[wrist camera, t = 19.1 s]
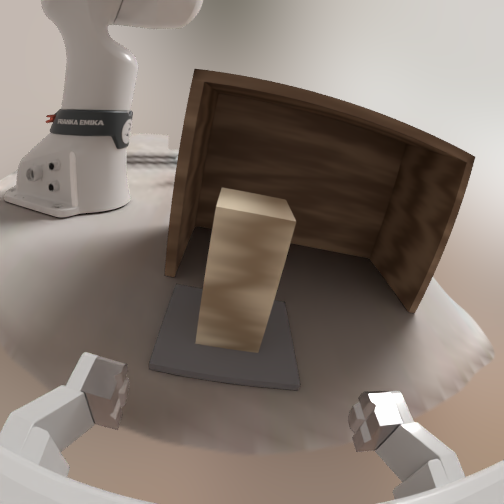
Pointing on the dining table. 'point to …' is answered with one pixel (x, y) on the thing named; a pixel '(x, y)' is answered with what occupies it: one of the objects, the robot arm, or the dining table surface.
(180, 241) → the wooden bench shelf
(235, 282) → the block
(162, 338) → the mat
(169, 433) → the dining table surface
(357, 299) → the dining table surface
